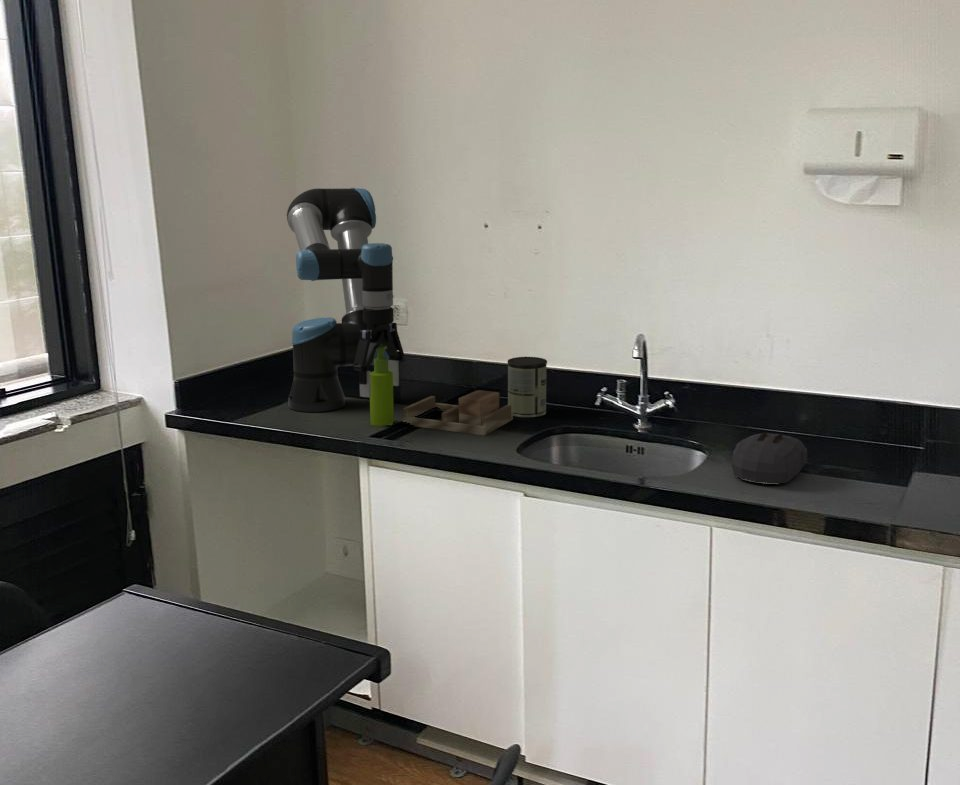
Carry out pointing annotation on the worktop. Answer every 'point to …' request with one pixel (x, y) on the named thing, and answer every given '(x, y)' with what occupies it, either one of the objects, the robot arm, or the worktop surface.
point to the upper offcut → (478, 403)
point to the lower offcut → (472, 419)
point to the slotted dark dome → (769, 458)
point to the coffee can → (527, 386)
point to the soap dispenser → (381, 391)
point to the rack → (454, 418)
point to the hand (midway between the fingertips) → (379, 391)
